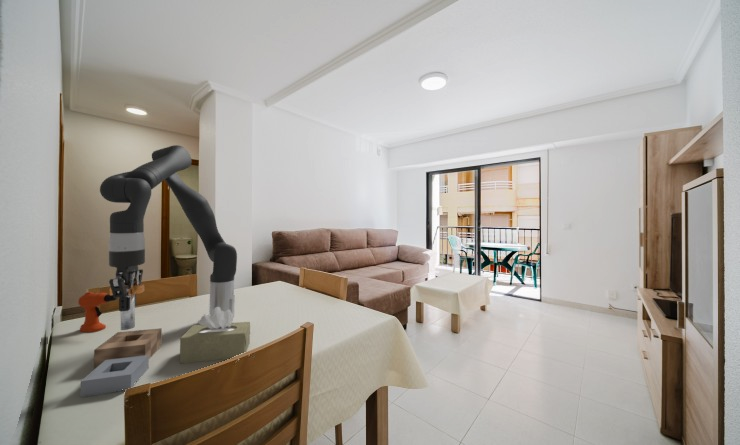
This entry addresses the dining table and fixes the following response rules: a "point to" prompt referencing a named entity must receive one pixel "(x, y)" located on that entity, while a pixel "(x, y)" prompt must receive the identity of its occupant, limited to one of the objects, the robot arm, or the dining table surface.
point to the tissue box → (214, 338)
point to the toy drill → (93, 310)
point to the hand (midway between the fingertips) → (127, 308)
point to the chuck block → (128, 345)
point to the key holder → (114, 375)
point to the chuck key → (129, 315)
